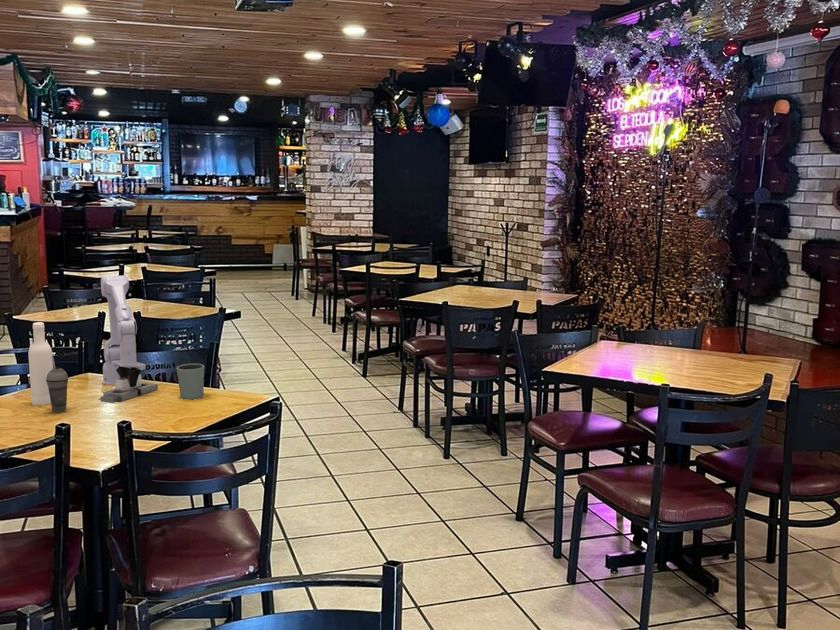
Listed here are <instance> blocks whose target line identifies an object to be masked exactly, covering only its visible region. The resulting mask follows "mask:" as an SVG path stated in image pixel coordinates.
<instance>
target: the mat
mask: <svg viewBox="0 0 840 630" xmlns="http://www.w3.org/2000/svg"><path fill="white" fill-rule="evenodd" d="M159 390H160V389H158V388H157V389H156V390H155V391H152V392H149V393H146V394H143V395H137V397H134V398H131V399H128V400H125V401H118V402H117V403H124V402H127V401H129V400H132V399H135V398H138V397H142V396H144V395H148V394H151V393H153V392H157V391H159ZM97 400H99V401H101V400H100V398H97Z"/></svg>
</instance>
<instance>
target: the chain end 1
mask: <svg viewBox="0 0 840 630" xmlns="http://www.w3.org/2000/svg"><path fill="white" fill-rule="evenodd" d="M102 394H103V395H102V396H100V397H99V399H100V400H99V401H100V402H104V403H111V404H114V403H119V402H118V401H124V402H126V401H125V400H127V401H129V400H128V399H130V400H132V399H131V398H133V399H135V398H134V397H136V398H138V397H137V390H130V391H127V392H124V393H116V388H114V389H110V390H107V391H104V392H103V393H102Z"/></svg>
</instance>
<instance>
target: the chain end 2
mask: <svg viewBox="0 0 840 630" xmlns="http://www.w3.org/2000/svg"><path fill="white" fill-rule="evenodd" d="M141 383H142V387H139V388H136V390H137V395H142V396H144V395H143V394H145V395H147V394H146V393H148V394H150V393H149V392H151V393H153V392H152V391H154V392H156V391H155V390H156V389H158V388H159V386H158V385H159V384H158V383H153V382H152V383H151V382H141Z"/></svg>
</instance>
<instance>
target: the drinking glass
mask: <svg viewBox="0 0 840 630" xmlns="http://www.w3.org/2000/svg"><path fill="white" fill-rule="evenodd" d="M175 369H176V374H177V380H178V388H179V396H180V397H179V398H180V399H181V398H182V399H181V400H184V399H187V400H186V401H193V399H195V400H200V399H202V398H204V391H205V390H204V389H205V388H204V385H205V379H204V378H205V365H204V364H201V363H185V364H181V365H178V366H176V367H175Z"/></svg>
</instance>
